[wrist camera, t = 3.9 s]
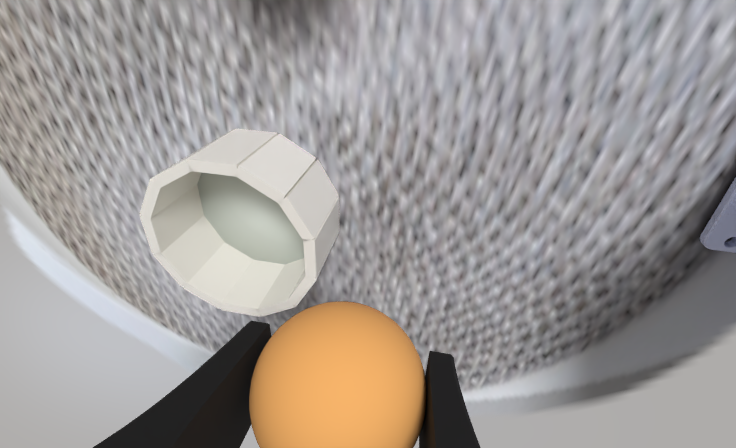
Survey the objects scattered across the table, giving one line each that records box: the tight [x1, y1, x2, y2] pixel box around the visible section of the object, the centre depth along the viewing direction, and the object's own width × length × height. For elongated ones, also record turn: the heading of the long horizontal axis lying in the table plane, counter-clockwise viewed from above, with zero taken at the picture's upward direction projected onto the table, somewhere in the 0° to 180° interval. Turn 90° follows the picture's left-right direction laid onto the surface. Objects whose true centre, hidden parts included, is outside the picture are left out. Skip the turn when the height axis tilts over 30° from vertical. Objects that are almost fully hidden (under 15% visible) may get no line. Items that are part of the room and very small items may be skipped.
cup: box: [140, 129, 339, 317], centre depth 18 cm, size 8×8×4 cm
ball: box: [249, 302, 426, 448], centre depth 11 cm, size 5×5×5 cm
